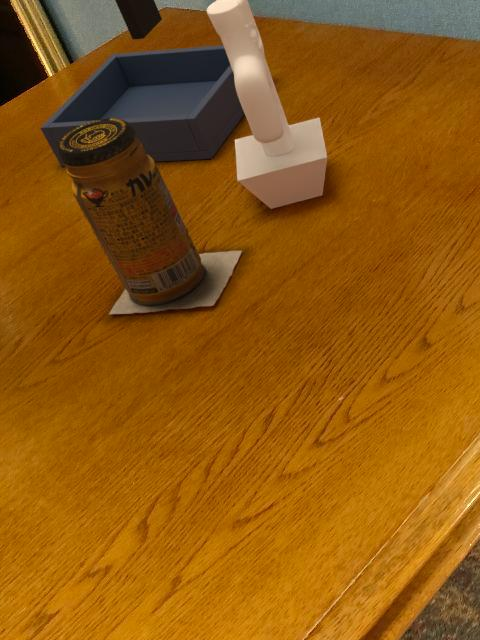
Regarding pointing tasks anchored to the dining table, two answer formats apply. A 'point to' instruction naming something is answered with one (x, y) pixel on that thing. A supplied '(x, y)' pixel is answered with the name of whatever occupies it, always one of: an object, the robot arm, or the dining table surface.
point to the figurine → (267, 118)
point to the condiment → (139, 222)
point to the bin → (158, 101)
